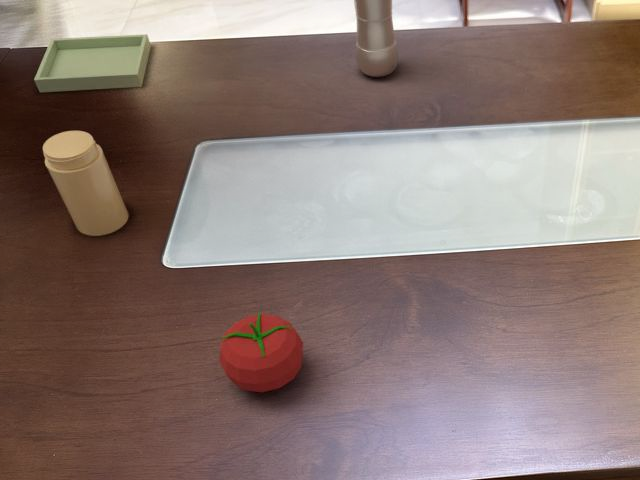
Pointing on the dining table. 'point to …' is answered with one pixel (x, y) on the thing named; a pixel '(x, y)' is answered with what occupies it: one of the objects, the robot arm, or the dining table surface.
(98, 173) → the jam jar
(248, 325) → the tomato
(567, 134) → the dining table surface
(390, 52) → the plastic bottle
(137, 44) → the tray
